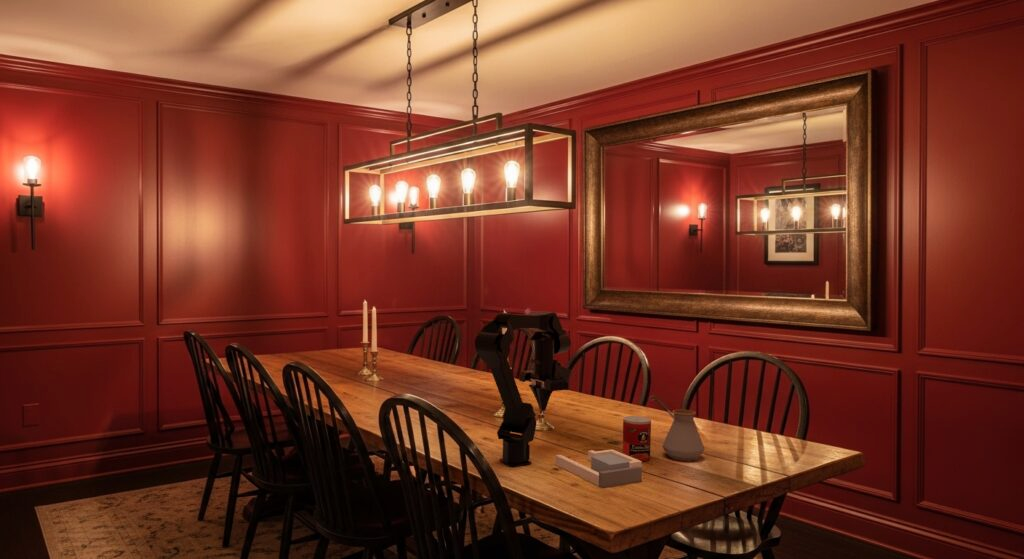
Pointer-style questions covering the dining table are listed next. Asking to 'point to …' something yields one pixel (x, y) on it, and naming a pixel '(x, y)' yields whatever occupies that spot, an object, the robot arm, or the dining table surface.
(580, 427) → the dining table surface
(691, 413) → the coffee pot
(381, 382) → the dining table surface
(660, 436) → the dining table surface
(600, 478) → the white tray
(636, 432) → the canned food
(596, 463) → the slate block
